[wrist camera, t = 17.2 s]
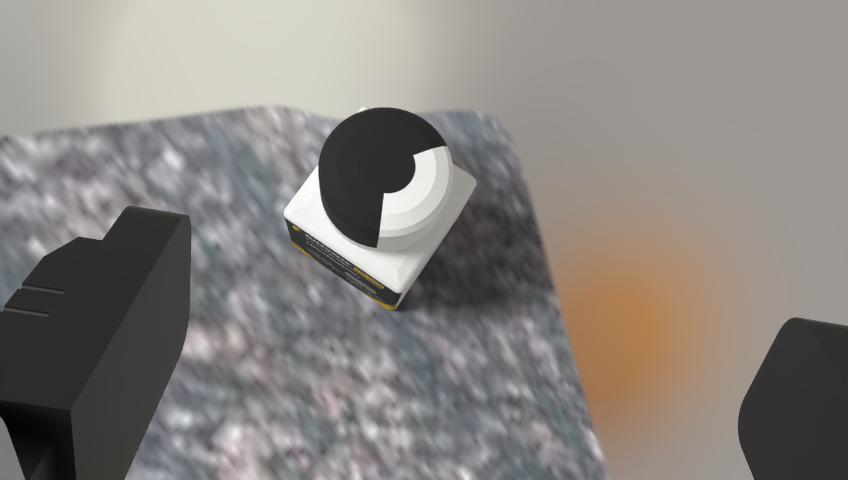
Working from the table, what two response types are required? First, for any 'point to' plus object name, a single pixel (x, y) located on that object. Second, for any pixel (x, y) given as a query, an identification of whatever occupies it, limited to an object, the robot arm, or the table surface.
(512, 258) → the table surface
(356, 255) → the medicine bottle
